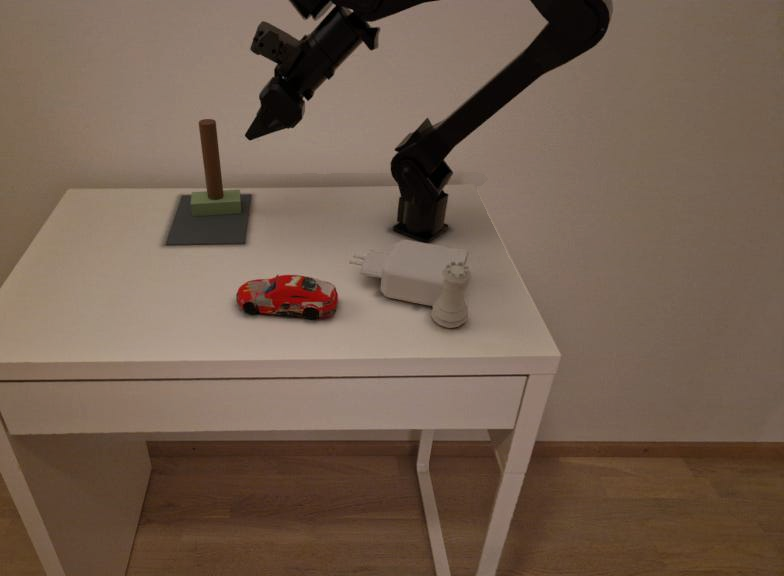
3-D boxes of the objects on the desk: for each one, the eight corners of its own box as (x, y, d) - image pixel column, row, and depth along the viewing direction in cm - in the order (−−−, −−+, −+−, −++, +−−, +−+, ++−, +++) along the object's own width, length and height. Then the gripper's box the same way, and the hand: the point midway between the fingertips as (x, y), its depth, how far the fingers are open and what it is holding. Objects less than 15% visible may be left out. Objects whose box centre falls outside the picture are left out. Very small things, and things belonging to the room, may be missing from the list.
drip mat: (244, 244, 90) (244, 242, 90) (165, 245, 90) (165, 243, 90) (251, 195, 103) (251, 194, 103) (182, 196, 103) (181, 195, 103)
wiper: (240, 201, 100) (233, 115, 91) (241, 213, 97) (233, 125, 88) (193, 204, 100) (181, 117, 91) (192, 216, 96) (179, 128, 87)
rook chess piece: (427, 306, 76) (434, 256, 70) (462, 304, 76) (471, 253, 70) (434, 331, 73) (442, 281, 67) (470, 328, 73) (481, 277, 67)
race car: (232, 314, 76) (229, 288, 73) (243, 290, 80) (240, 265, 78) (333, 324, 74) (334, 297, 72) (339, 299, 78) (340, 273, 76)
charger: (360, 258, 86) (463, 277, 82) (340, 291, 80) (451, 314, 75) (362, 228, 83) (469, 247, 79) (341, 260, 77) (457, 282, 72)
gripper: (294, -12, 86) (226, 68, 94) (273, 14, 71) (195, 106, 80) (346, 49, 90) (277, 121, 98) (336, 85, 76) (256, 165, 84)
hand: (253, 126), depth 90 cm, fingers open, 9 cm apart
